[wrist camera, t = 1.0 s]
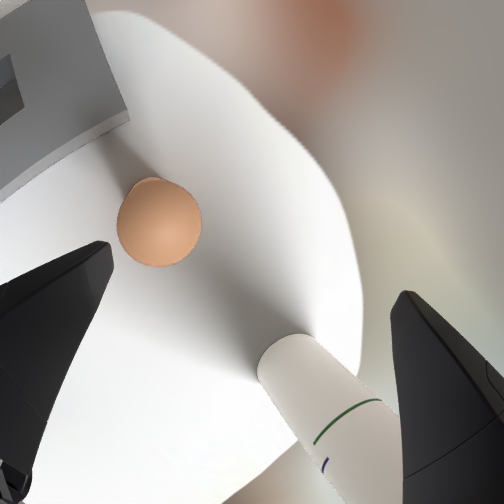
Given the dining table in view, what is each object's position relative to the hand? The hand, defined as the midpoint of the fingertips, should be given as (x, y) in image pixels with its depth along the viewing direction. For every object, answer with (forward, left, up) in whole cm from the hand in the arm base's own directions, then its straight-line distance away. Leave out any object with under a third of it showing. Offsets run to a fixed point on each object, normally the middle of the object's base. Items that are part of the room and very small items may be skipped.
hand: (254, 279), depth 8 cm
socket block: (-9, +14, -14) cm, 22 cm away
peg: (-2, +2, -14) cm, 14 cm away
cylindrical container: (+2, -18, -14) cm, 23 cm away
